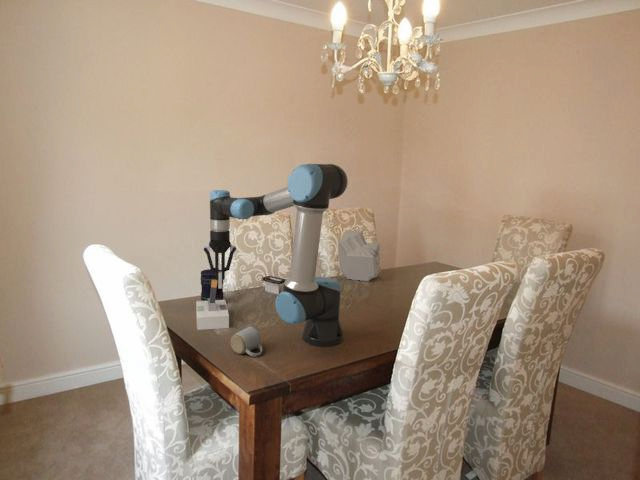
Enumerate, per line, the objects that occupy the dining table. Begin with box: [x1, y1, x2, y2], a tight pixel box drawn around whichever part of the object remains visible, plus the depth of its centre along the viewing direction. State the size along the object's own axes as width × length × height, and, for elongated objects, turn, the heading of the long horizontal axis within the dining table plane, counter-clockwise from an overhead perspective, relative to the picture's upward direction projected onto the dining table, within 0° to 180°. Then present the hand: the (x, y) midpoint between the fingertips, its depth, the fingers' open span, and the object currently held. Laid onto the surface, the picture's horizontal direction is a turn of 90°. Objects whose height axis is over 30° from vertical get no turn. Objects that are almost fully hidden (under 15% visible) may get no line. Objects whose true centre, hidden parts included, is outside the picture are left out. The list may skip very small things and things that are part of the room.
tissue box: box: [337, 230, 382, 282], centre depth 256 cm, size 20×16×25 cm
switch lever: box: [209, 279, 217, 303], centre depth 187 cm, size 4×2×12 cm, turn 15°
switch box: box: [195, 298, 230, 331], centre depth 188 cm, size 20×12×8 cm, turn 15°
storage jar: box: [200, 268, 224, 301], centre depth 206 cm, size 10×10×15 cm
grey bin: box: [261, 275, 287, 295], centre depth 228 cm, size 20×25×10 cm
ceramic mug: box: [230, 326, 263, 358], centre depth 159 cm, size 11×8×8 cm
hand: (219, 287), depth 187 cm, fingers closed
